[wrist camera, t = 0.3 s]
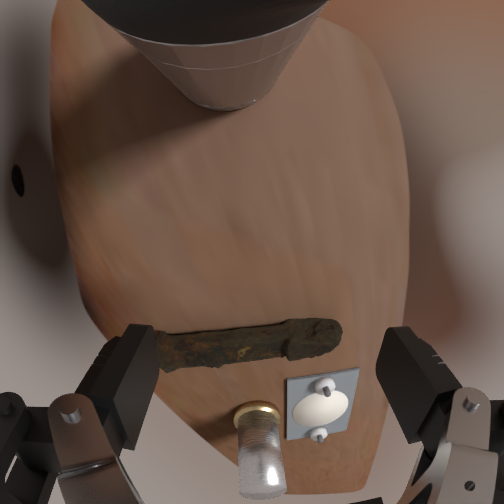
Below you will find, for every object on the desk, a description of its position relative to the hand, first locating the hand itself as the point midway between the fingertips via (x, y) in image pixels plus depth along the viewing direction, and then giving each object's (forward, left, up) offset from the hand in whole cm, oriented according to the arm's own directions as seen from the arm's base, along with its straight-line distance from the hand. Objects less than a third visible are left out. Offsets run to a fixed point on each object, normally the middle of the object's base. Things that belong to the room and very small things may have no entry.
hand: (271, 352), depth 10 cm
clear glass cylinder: (+26, -1, -18) cm, 32 cm away
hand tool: (+11, -1, -19) cm, 22 cm away
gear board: (+26, +8, -18) cm, 32 cm away
